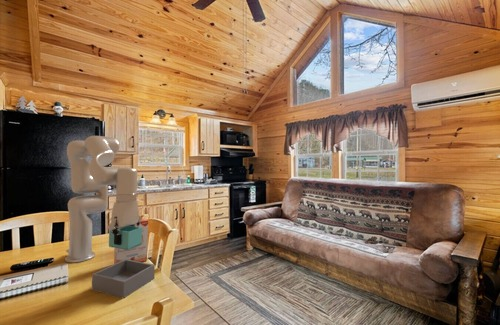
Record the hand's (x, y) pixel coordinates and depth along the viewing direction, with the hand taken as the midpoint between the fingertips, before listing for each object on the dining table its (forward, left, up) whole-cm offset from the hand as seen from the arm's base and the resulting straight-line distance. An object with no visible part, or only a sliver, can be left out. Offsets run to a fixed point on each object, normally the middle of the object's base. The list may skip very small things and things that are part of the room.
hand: (125, 241), depth 99 cm
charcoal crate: (0, 0, -17) cm, 17 cm away
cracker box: (-14, +17, -18) cm, 28 cm away
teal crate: (0, 0, -2) cm, 2 cm away
